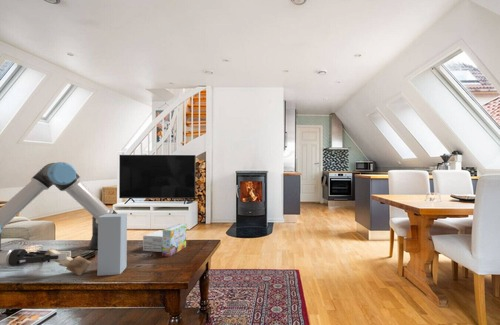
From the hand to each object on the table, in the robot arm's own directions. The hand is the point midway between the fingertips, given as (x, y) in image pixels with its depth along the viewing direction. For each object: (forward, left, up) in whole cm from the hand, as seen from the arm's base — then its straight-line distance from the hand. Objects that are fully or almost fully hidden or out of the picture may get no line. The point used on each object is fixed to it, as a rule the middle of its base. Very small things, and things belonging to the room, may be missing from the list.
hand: (68, 255), depth 128 cm
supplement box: (-16, +50, -9) cm, 54 cm away
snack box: (-2, +54, -9) cm, 55 cm away
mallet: (-1, -1, -4) cm, 4 cm away
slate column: (+10, +17, -9) cm, 22 cm away
